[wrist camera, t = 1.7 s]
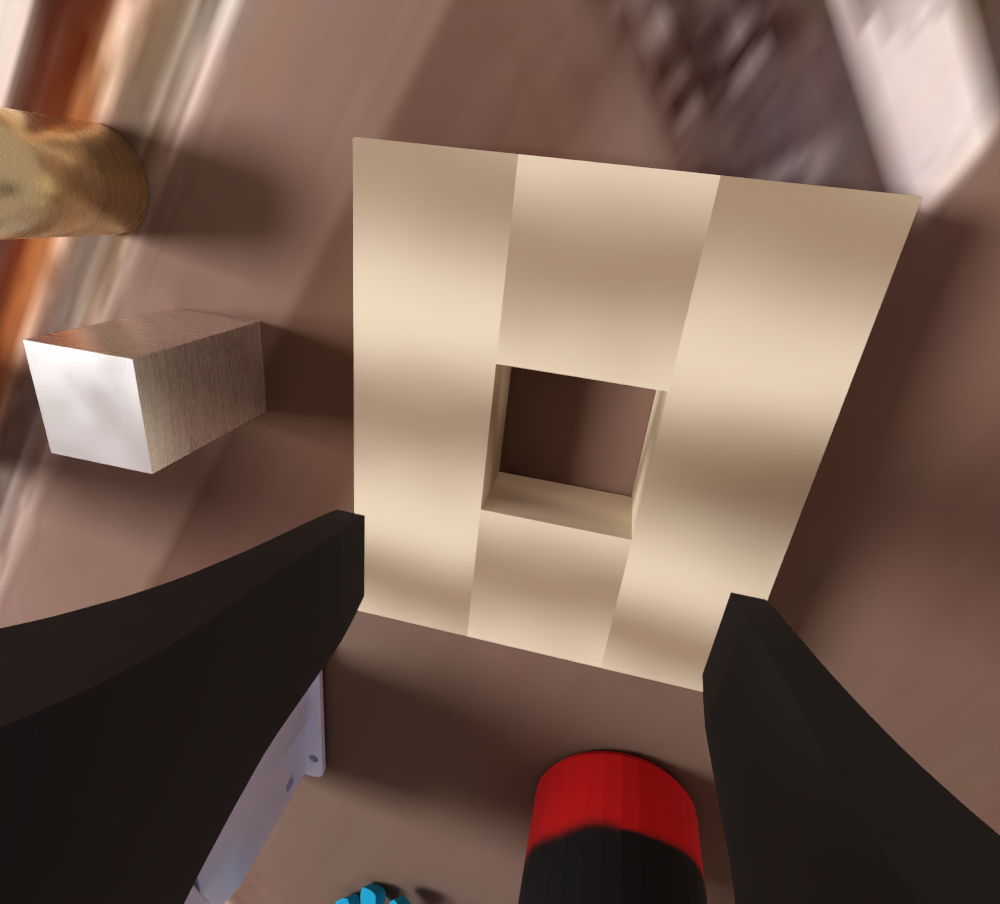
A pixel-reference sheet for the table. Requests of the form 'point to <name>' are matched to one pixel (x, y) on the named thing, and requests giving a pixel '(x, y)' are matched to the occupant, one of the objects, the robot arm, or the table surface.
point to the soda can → (612, 835)
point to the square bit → (147, 385)
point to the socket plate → (605, 357)
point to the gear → (371, 896)
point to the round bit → (67, 178)
